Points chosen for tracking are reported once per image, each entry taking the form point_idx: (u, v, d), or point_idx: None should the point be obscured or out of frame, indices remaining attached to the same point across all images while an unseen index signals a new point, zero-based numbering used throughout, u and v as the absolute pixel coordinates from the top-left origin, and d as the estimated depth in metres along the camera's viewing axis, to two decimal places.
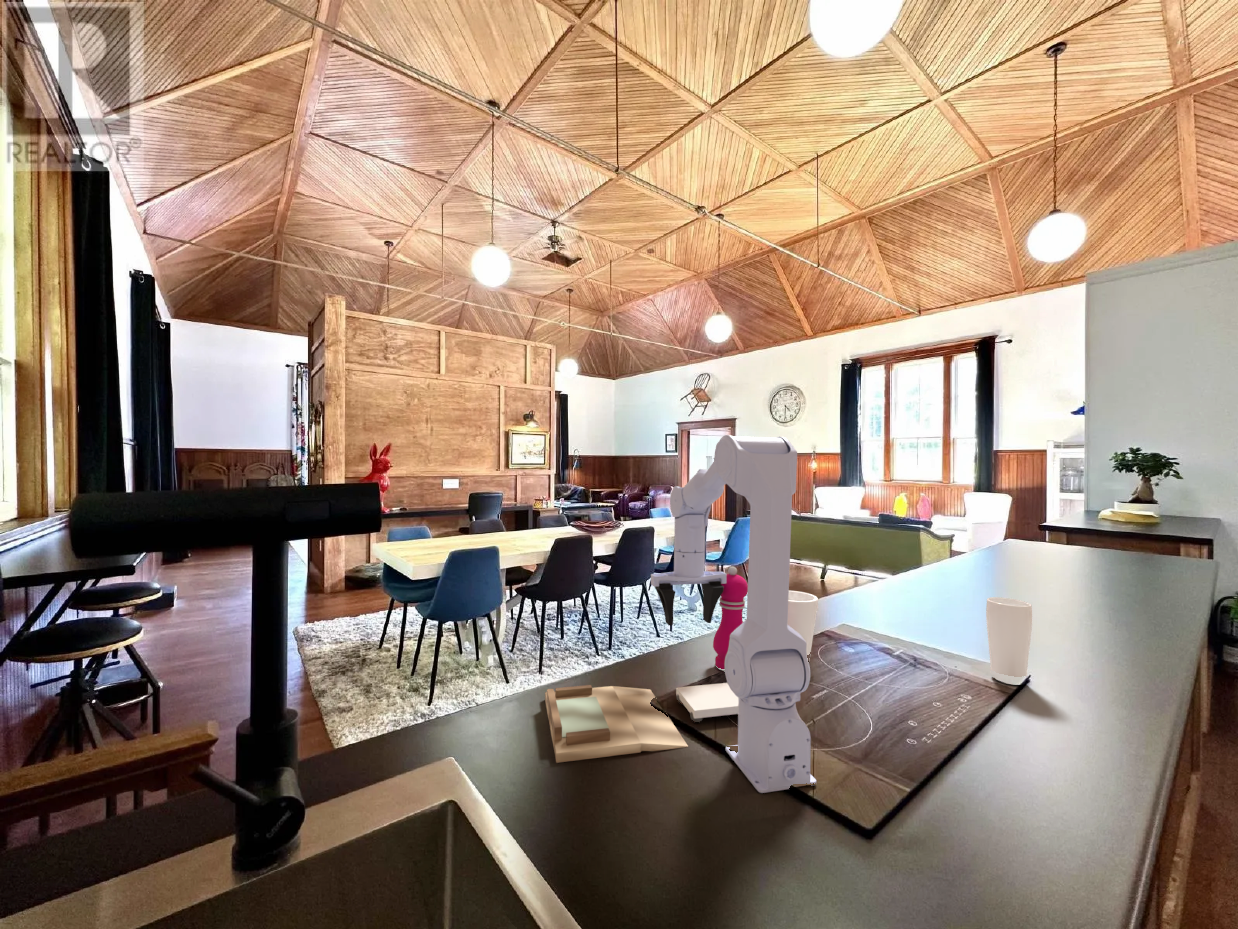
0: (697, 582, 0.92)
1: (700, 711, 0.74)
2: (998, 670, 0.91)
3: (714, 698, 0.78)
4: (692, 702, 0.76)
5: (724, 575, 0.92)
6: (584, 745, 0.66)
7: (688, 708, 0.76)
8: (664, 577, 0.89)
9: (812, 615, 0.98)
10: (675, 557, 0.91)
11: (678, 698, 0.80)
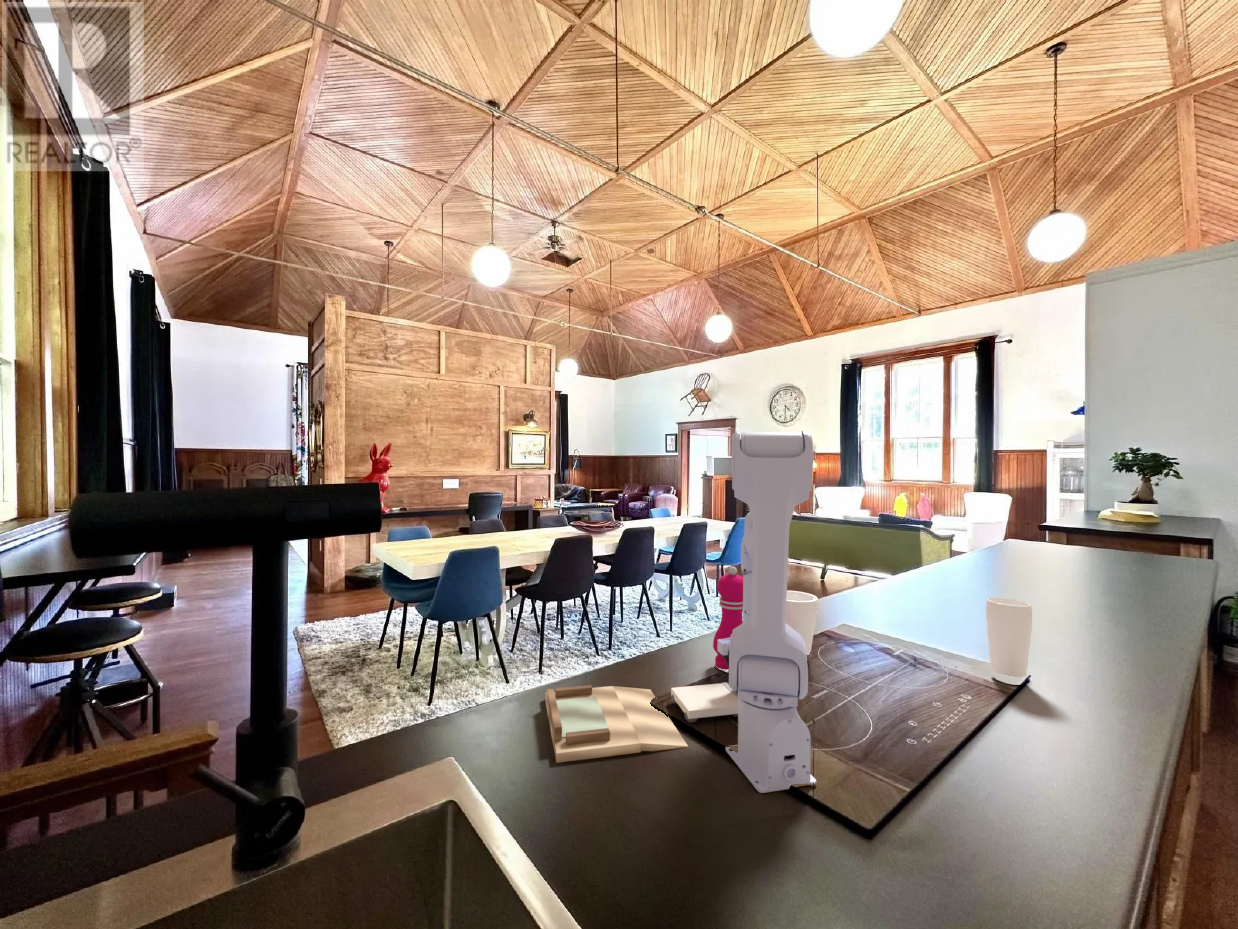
0: None
1: (694, 711, 0.74)
2: (998, 670, 0.91)
3: (709, 699, 0.78)
4: (687, 702, 0.76)
5: None
6: (584, 745, 0.66)
7: (683, 708, 0.76)
8: None
9: (812, 615, 0.98)
10: (745, 620, 0.80)
11: (673, 698, 0.80)
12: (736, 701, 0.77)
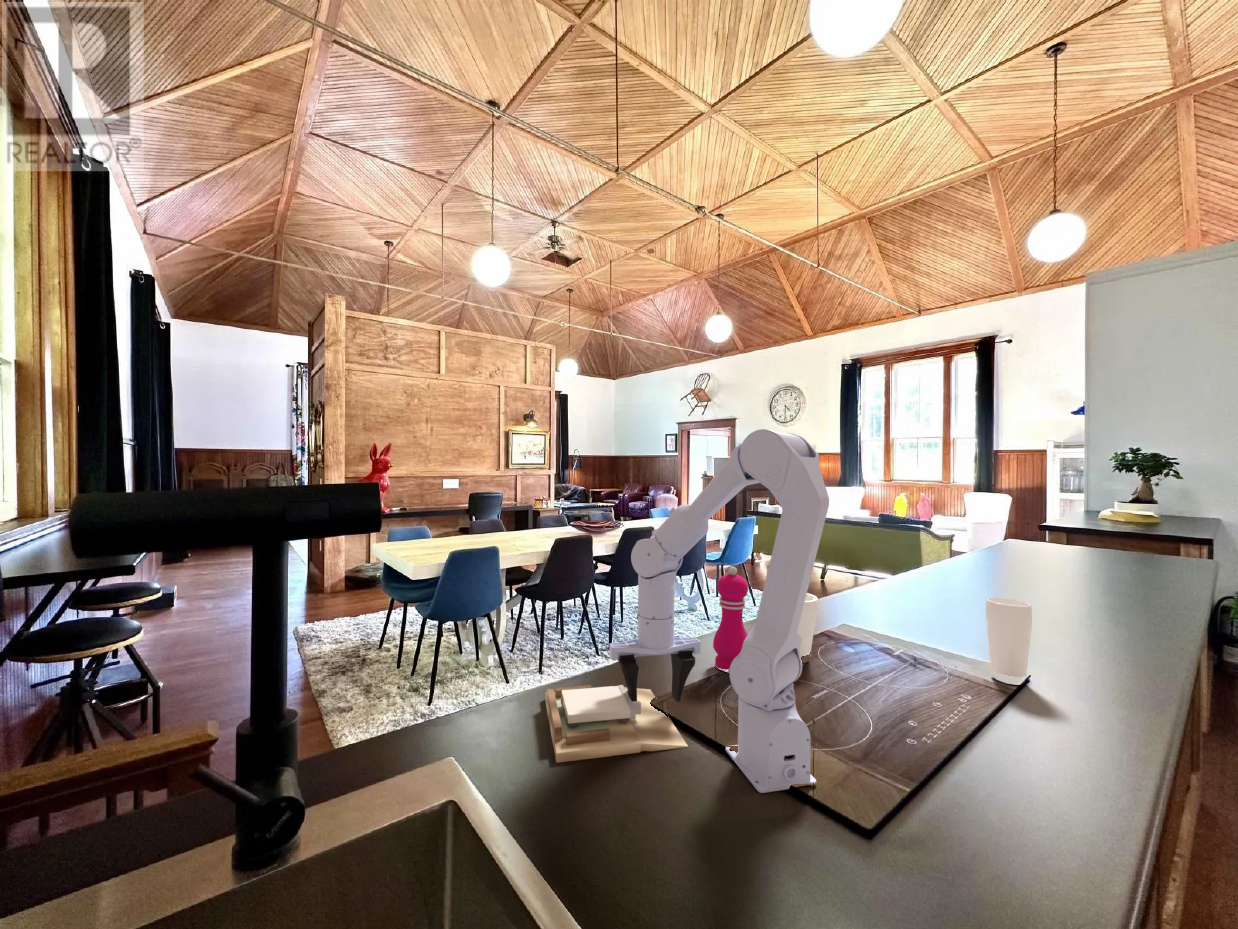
0: None
1: (574, 716, 0.69)
2: (998, 670, 0.91)
3: (596, 702, 0.73)
4: (570, 706, 0.72)
5: (698, 643, 0.77)
6: (584, 745, 0.66)
7: (565, 712, 0.71)
8: (624, 649, 0.74)
9: (812, 615, 0.98)
10: (638, 623, 0.76)
11: (561, 701, 0.76)
12: (624, 705, 0.72)
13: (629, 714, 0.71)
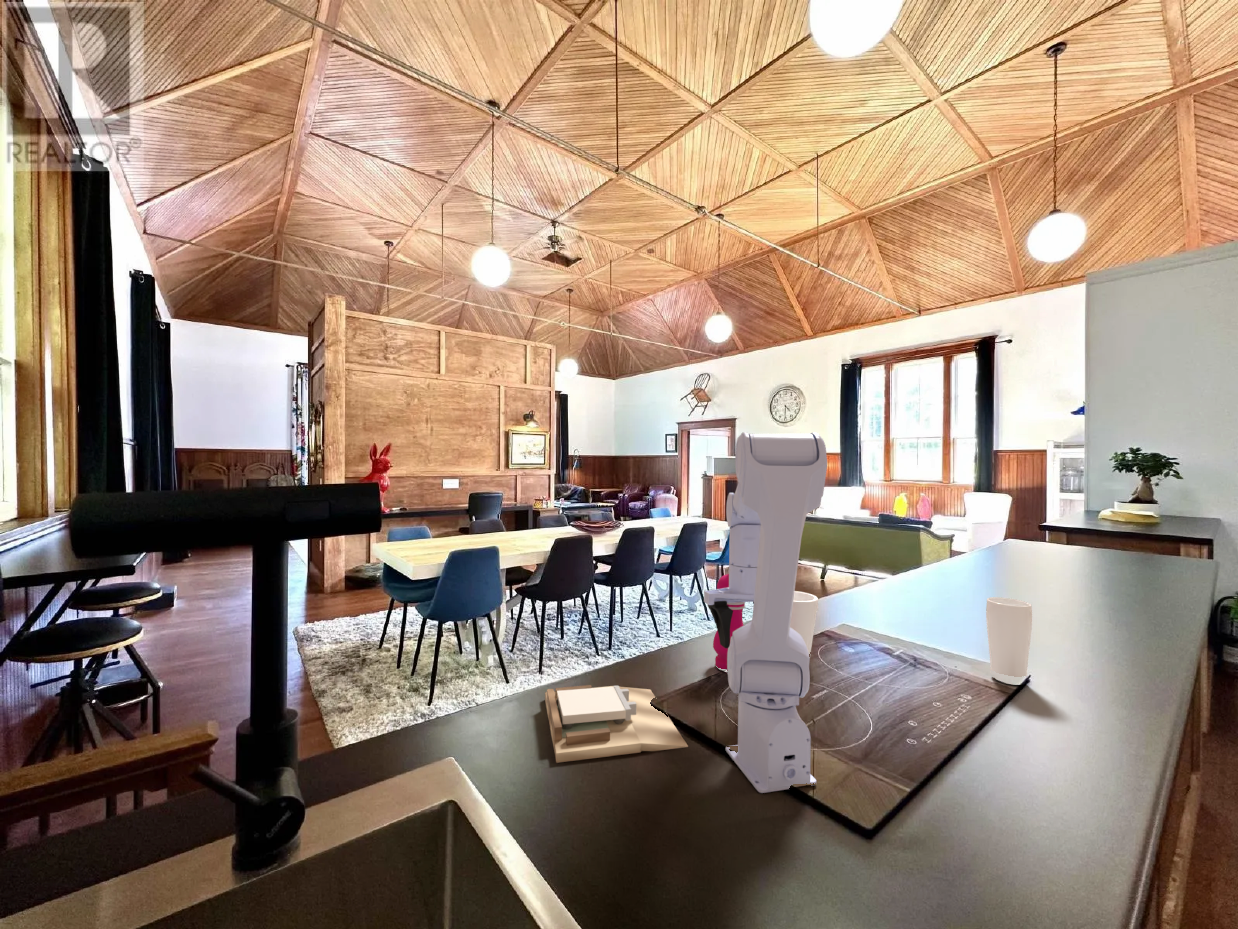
0: None
1: (569, 716, 0.69)
2: (998, 670, 0.91)
3: (591, 703, 0.73)
4: (565, 706, 0.72)
5: None
6: (584, 745, 0.66)
7: (560, 713, 0.71)
8: (720, 594, 0.80)
9: (812, 615, 0.98)
10: (731, 572, 0.82)
11: (557, 702, 0.75)
12: (619, 706, 0.72)
13: (624, 715, 0.71)
